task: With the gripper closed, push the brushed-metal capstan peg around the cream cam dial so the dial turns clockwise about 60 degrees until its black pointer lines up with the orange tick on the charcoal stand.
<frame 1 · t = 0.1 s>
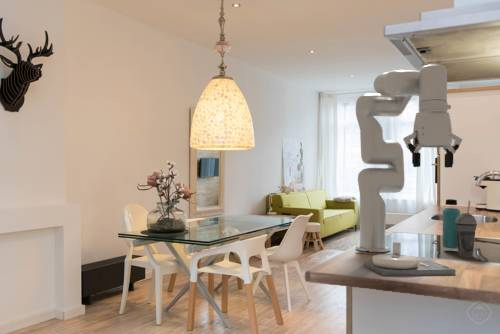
hand: (432, 167, 133), 31 cm above the worktop, tool pointing down, fingers open, 9 cm apart
cam dial: (394, 254, 139), point 5 cm above the worktop, hinge at 0.0°
beverage cup: (465, 256, 165), on the worktop
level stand: (407, 269, 139), on the worktop
beverage bottle: (451, 251, 176), on the worktop
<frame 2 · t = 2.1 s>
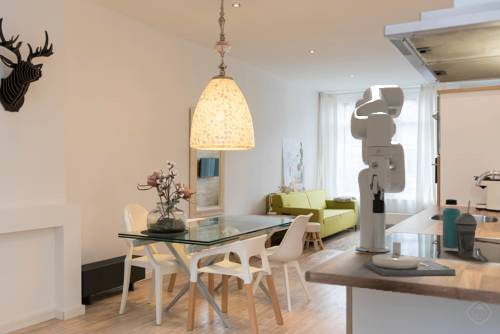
hand: (378, 213, 141), 17 cm above the worktop, tool pointing down, fingers closed
nothing on the worktop moved.
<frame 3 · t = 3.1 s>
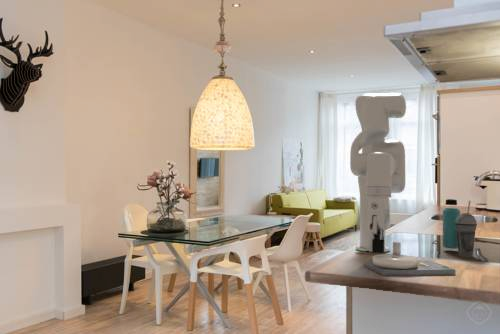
hand: (378, 252, 141), 5 cm above the worktop, tool pointing down, fingers closed
nothing on the worktop moved.
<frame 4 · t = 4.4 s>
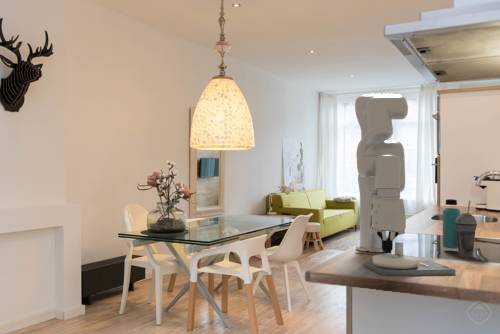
hand: (387, 252, 144), 4 cm above the worktop, tool pointing down, fingers closed
cam dial: (394, 254, 139), point 5 cm above the worktop, hinge at -9.0°, touching gripper
everything else where it was.
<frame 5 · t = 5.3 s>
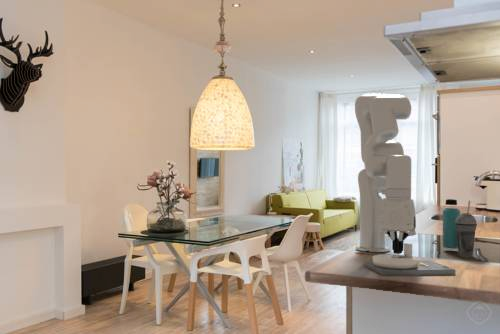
hand: (397, 253, 143), 4 cm above the worktop, tool pointing down, fingers closed
cam dial: (394, 254, 139), point 5 cm above the worktop, hinge at -45.2°, touching gripper
everything else where it was.
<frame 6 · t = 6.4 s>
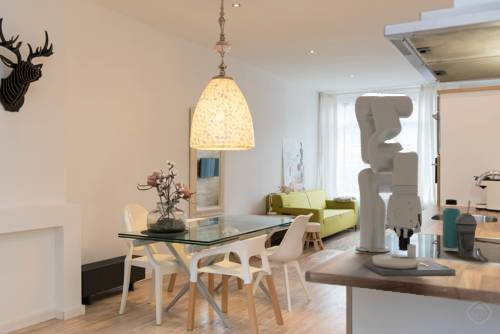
hand: (404, 250, 142), 6 cm above the worktop, tool pointing down, fingers closed
cam dial: (394, 254, 139), point 5 cm above the worktop, hinge at -67.7°
everything else where it was.
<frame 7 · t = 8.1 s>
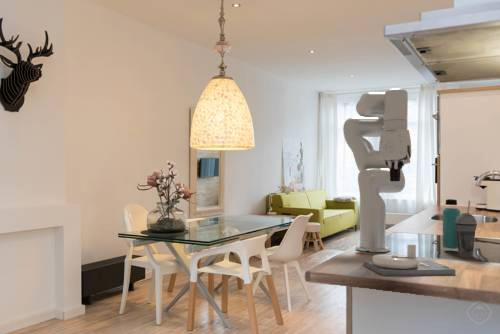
hand: (394, 181, 153), 27 cm above the worktop, tool pointing down, fingers closed
nothing on the worktop moved.
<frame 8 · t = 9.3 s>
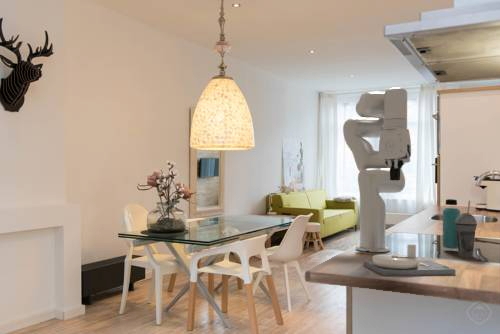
hand: (394, 180, 153), 27 cm above the worktop, tool pointing down, fingers closed
nothing on the worktop moved.
at the end: cam dial at -68° (first picture: +0°) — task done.
